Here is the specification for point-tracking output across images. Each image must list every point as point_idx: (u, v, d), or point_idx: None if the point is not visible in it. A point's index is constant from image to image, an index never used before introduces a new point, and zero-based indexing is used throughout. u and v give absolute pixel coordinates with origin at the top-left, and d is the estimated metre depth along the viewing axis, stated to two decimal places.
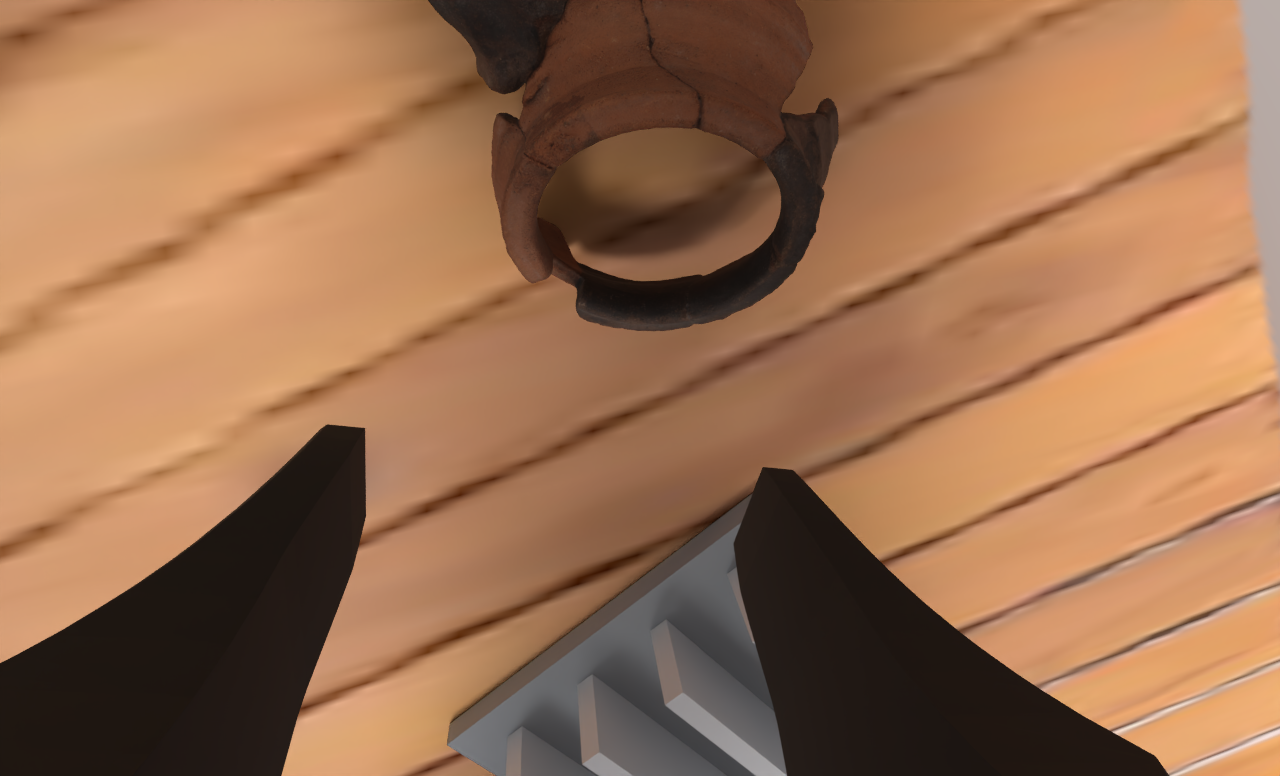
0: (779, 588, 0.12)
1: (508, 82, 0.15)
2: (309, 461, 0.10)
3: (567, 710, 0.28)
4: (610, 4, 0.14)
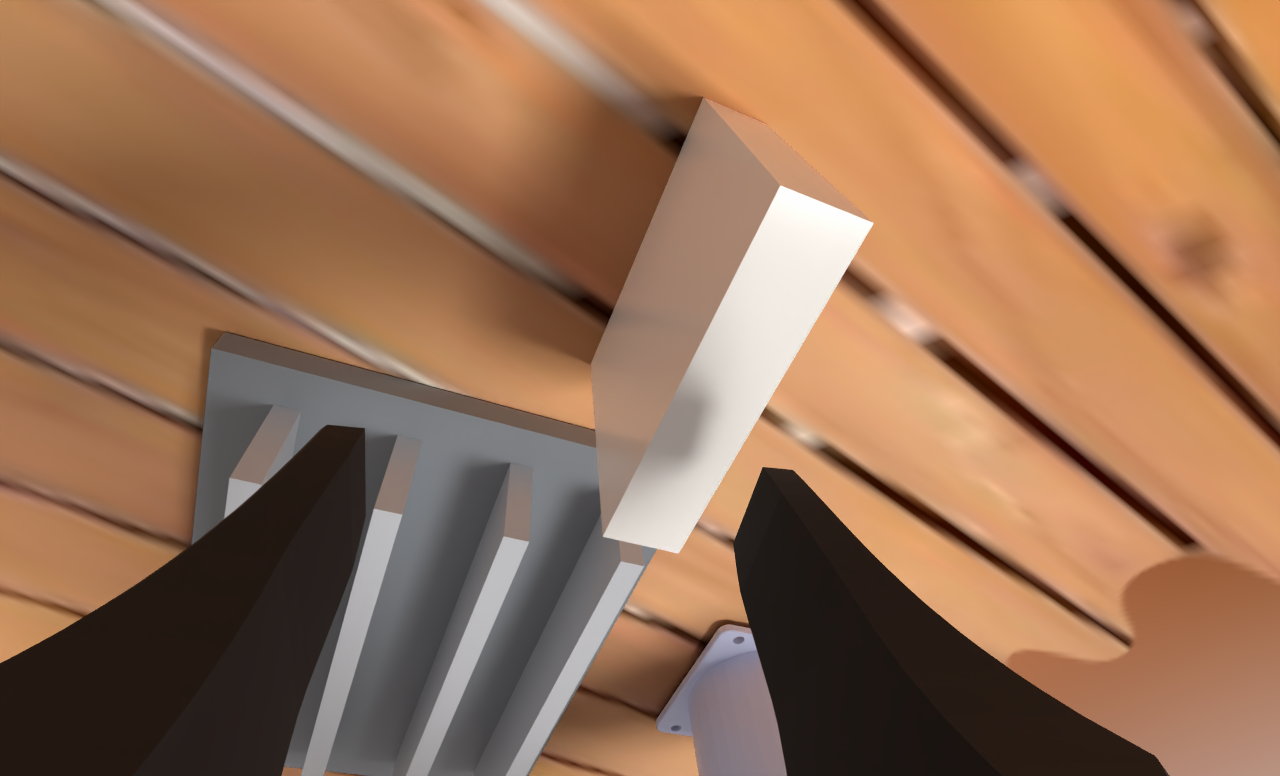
0: (779, 587, 0.12)
1: None
2: (309, 461, 0.10)
3: (440, 758, 0.33)
4: None
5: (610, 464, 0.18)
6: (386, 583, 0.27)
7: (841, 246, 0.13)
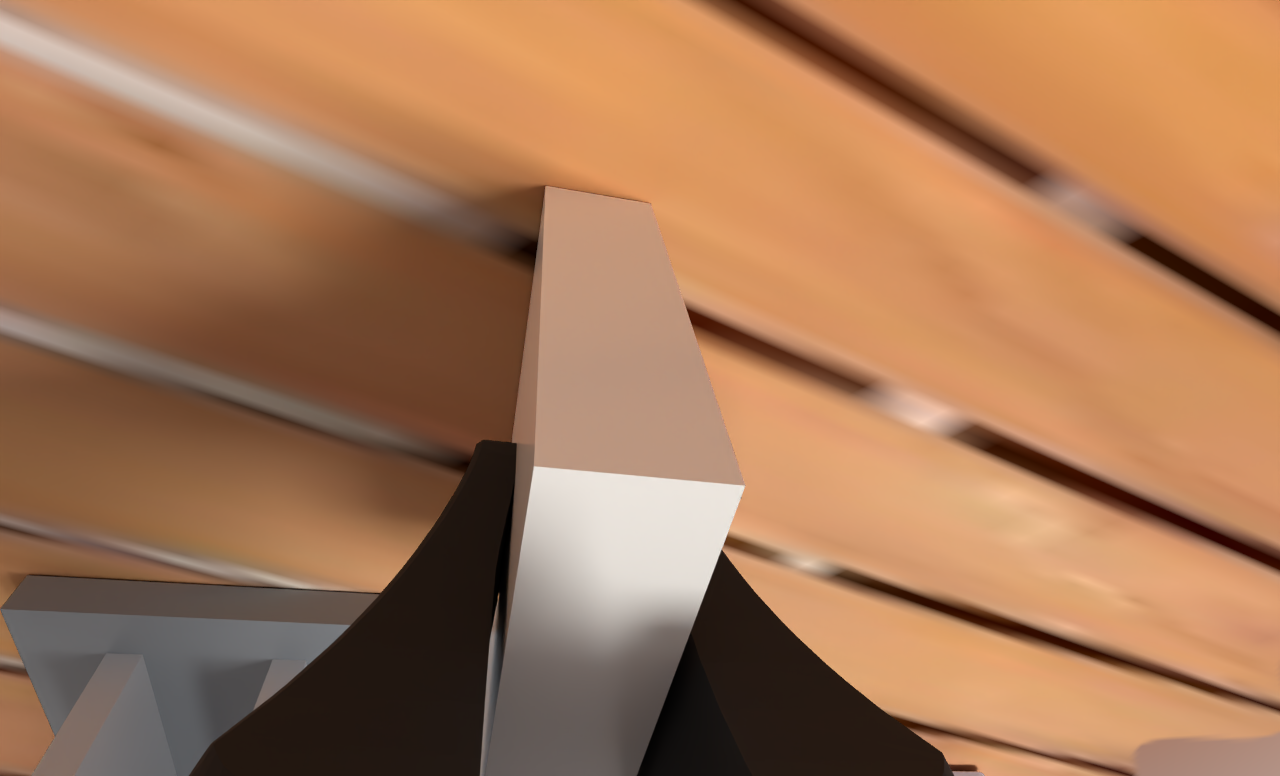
0: None
1: None
2: (485, 476, 0.11)
3: None
4: None
5: None
6: None
7: (695, 528, 0.07)
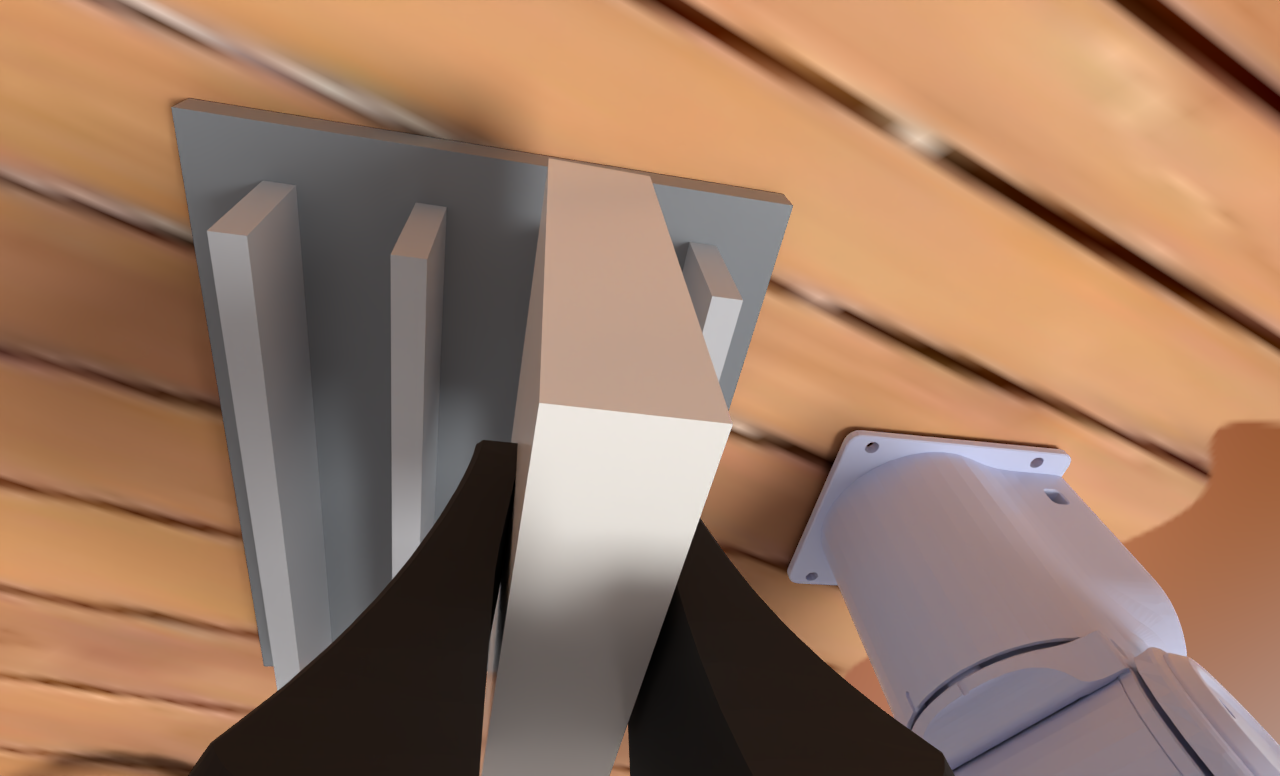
0: None
1: None
2: (484, 476, 0.11)
3: None
4: None
5: (485, 706, 0.13)
6: (445, 417, 0.23)
7: (687, 465, 0.07)
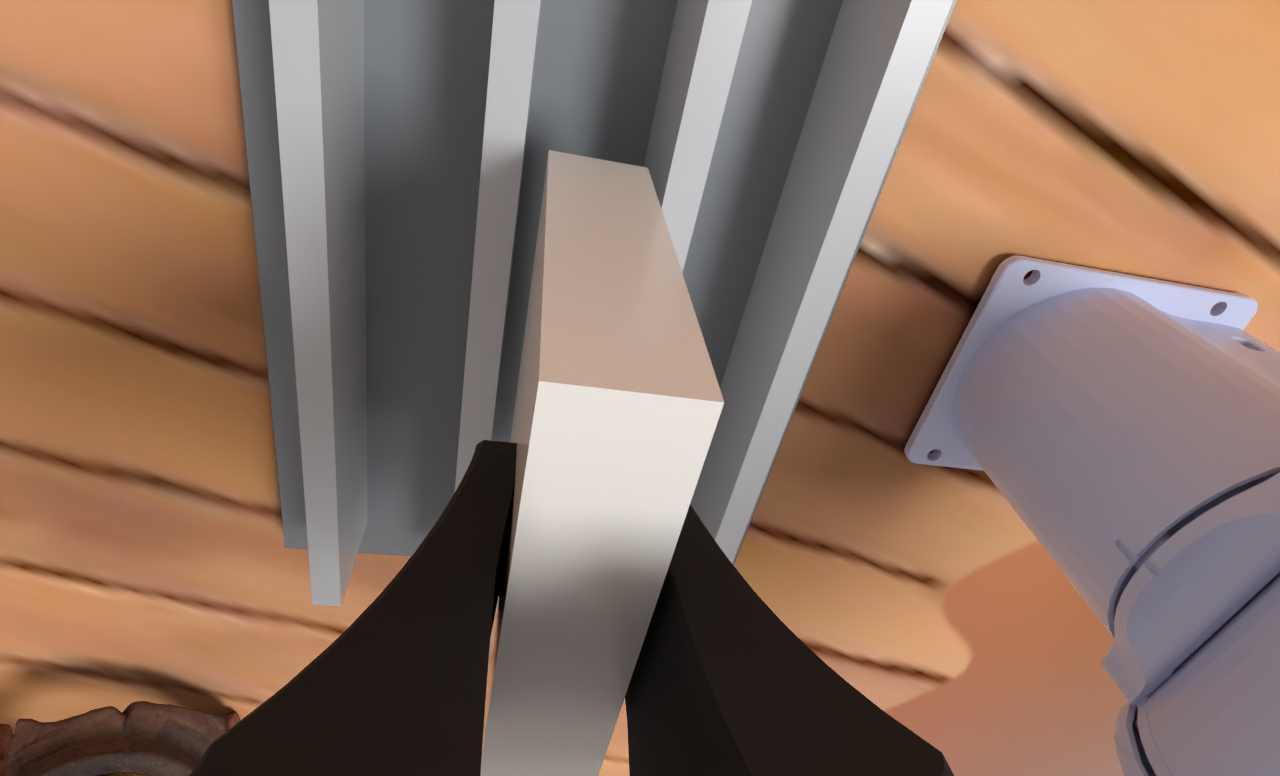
0: None
1: None
2: (485, 476, 0.11)
3: None
4: None
5: None
6: (528, 201, 0.18)
7: (681, 442, 0.08)
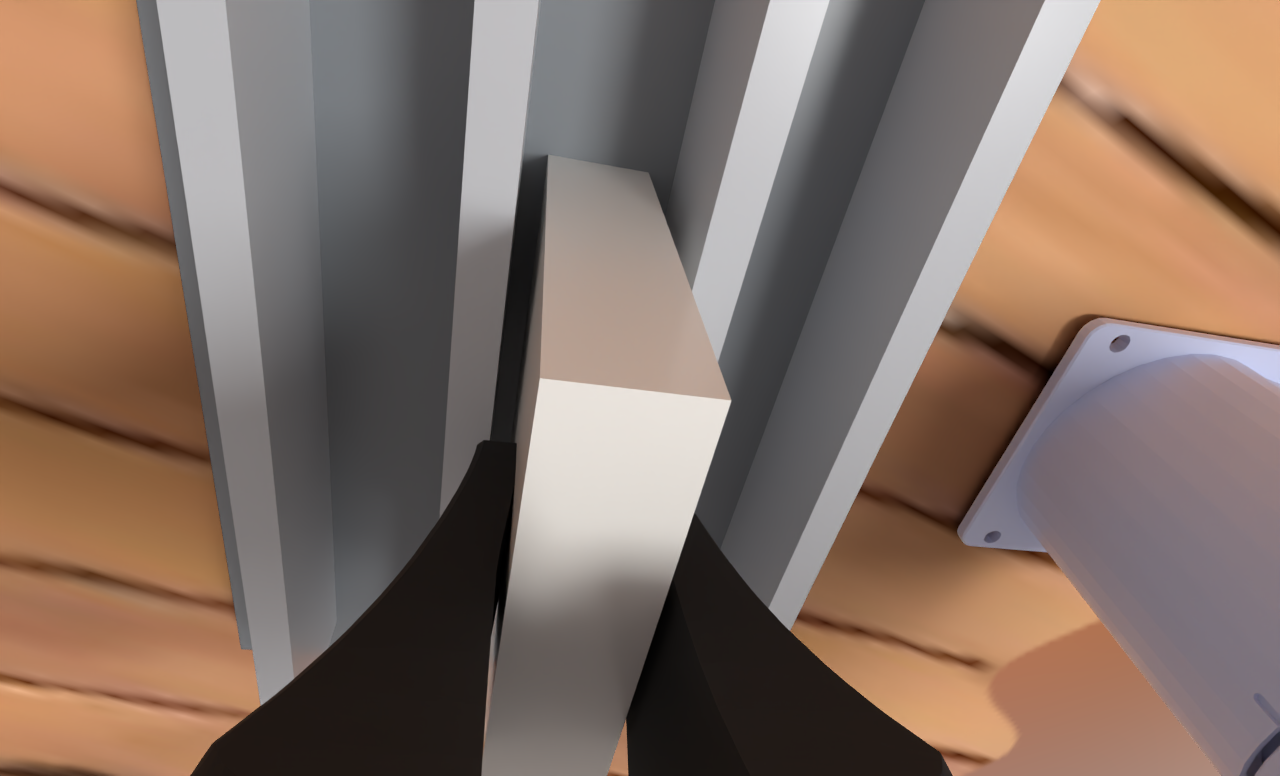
0: None
1: None
2: (485, 476, 0.11)
3: None
4: None
5: None
6: (522, 264, 0.15)
7: (687, 442, 0.08)
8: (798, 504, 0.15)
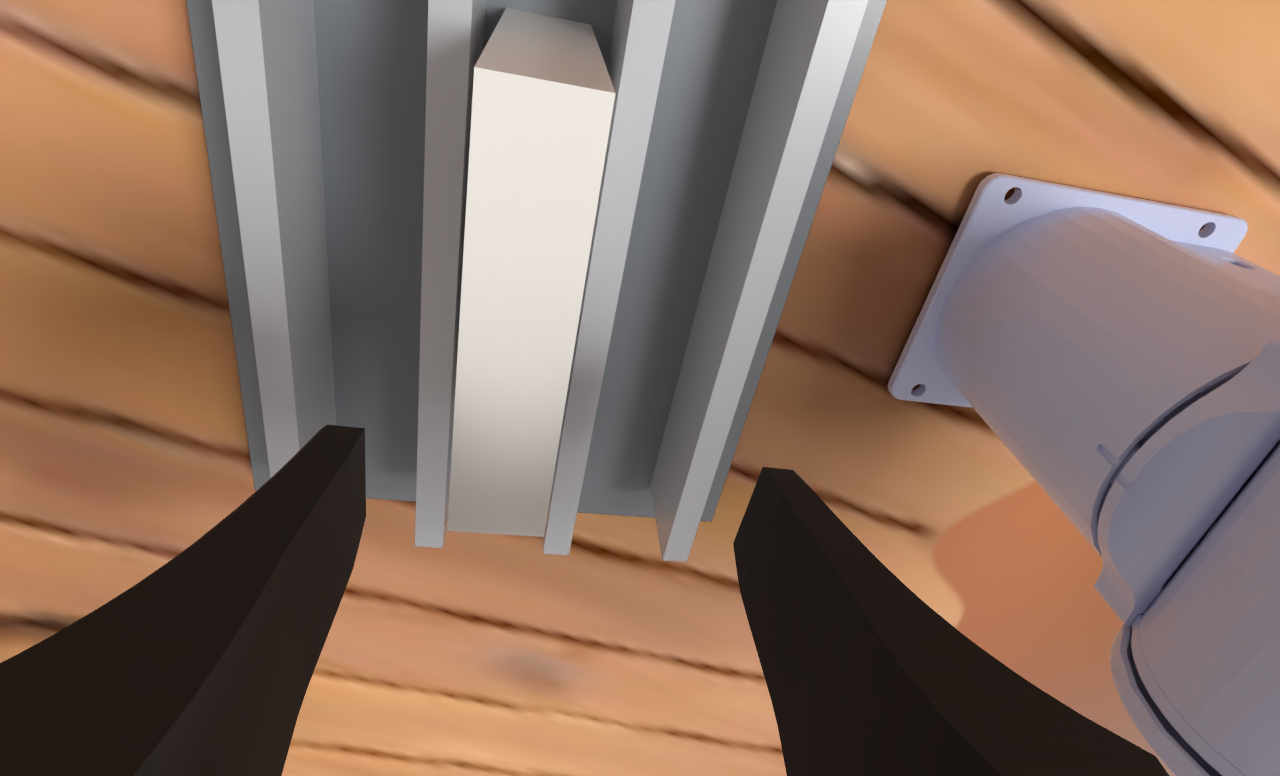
0: (779, 588, 0.12)
1: None
2: (309, 461, 0.10)
3: (603, 467, 0.24)
4: None
5: None
6: None
7: (586, 131, 0.10)
8: (726, 316, 0.18)
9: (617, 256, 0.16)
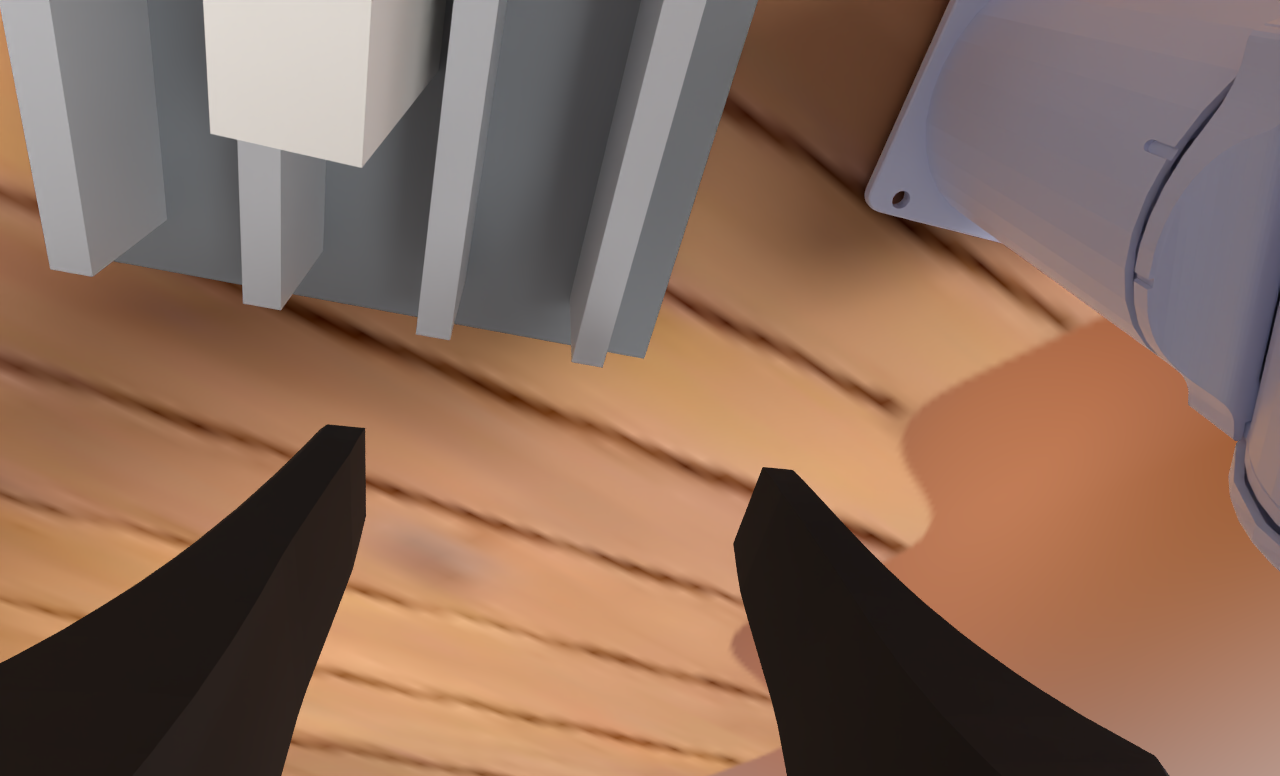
0: (779, 588, 0.12)
1: None
2: (309, 461, 0.10)
3: (511, 264, 0.20)
4: None
5: None
6: None
7: None
8: None
9: None
